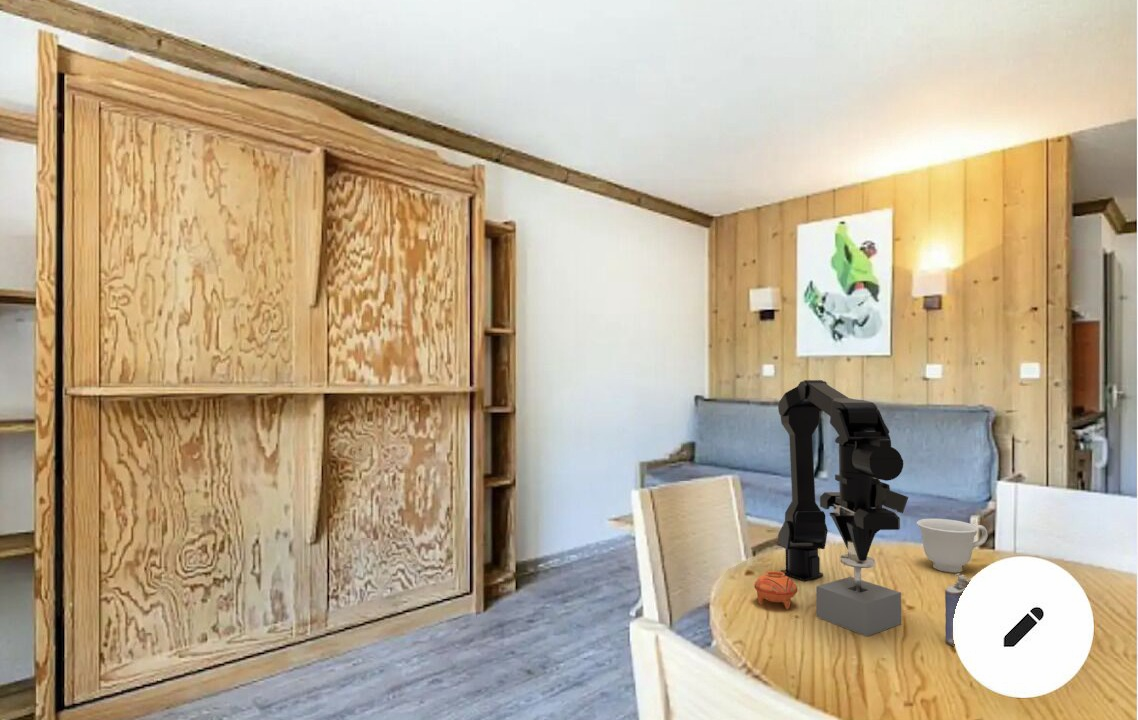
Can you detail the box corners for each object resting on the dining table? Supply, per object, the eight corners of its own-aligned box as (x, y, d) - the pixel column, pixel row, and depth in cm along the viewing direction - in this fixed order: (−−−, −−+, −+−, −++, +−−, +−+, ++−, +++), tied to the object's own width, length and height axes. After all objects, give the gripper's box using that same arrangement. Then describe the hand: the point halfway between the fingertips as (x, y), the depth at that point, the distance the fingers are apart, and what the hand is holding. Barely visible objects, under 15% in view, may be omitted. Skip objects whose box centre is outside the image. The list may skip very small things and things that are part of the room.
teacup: (1005, 577, 135) (1004, 531, 135) (936, 577, 135) (935, 531, 135) (970, 560, 147) (969, 518, 147) (907, 560, 147) (906, 518, 148)
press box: (816, 616, 114) (816, 586, 114) (850, 606, 119) (850, 576, 119) (866, 636, 105) (866, 603, 106) (901, 624, 111) (900, 592, 111)
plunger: (829, 596, 114) (828, 540, 114) (852, 590, 117) (852, 535, 117) (863, 609, 108) (862, 549, 108) (887, 601, 111) (886, 543, 111)
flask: (957, 648, 101) (956, 582, 101) (939, 642, 103) (938, 577, 103) (987, 636, 105) (986, 572, 106) (968, 630, 108) (967, 568, 108)
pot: (763, 612, 116) (759, 573, 117) (751, 606, 123) (748, 570, 125) (806, 610, 116) (801, 572, 117) (792, 605, 123) (787, 569, 125)
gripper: (930, 479, 104) (932, 573, 103) (874, 463, 122) (876, 542, 122) (864, 480, 103) (865, 574, 103) (818, 463, 122) (819, 543, 122)
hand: (857, 557), depth 113 cm, fingers closed on plunger, 3 cm apart
